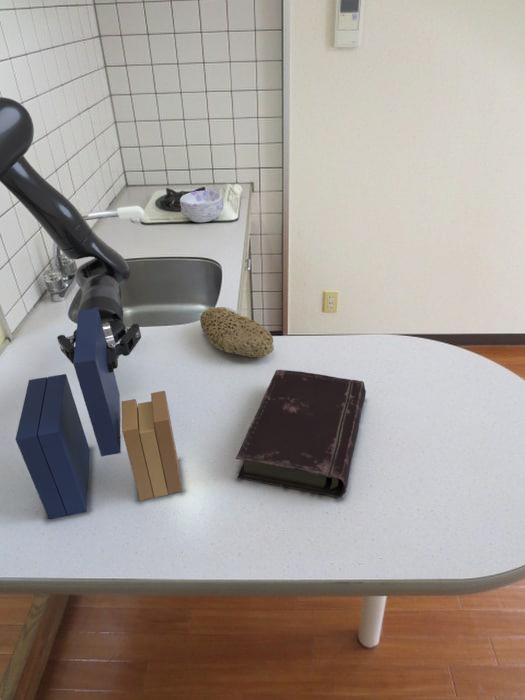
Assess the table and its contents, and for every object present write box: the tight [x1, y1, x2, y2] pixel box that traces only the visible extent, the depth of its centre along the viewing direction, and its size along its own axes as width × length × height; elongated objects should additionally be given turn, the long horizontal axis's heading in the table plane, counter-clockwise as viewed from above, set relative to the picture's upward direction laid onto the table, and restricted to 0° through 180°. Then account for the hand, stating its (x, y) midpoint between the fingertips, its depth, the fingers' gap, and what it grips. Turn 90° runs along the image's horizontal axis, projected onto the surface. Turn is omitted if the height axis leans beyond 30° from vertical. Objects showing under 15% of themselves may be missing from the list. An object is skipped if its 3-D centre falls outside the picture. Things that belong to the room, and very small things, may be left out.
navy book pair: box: [15, 373, 91, 520], centre depth 83 cm, size 6×14×17 cm, turn 13°
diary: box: [235, 369, 367, 498], centre depth 93 cm, size 19×25×5 cm
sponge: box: [199, 306, 274, 358], centre depth 118 cm, size 13×8×20 cm
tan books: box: [121, 390, 183, 501], centre depth 83 cm, size 7×7×16 cm
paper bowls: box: [179, 189, 225, 224], centre depth 187 cm, size 15×15×8 cm
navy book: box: [72, 308, 122, 457], centre depth 78 cm, size 3×14×17 cm, turn 13°
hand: (98, 369), depth 79 cm, fingers closed on navy book, 3 cm apart
